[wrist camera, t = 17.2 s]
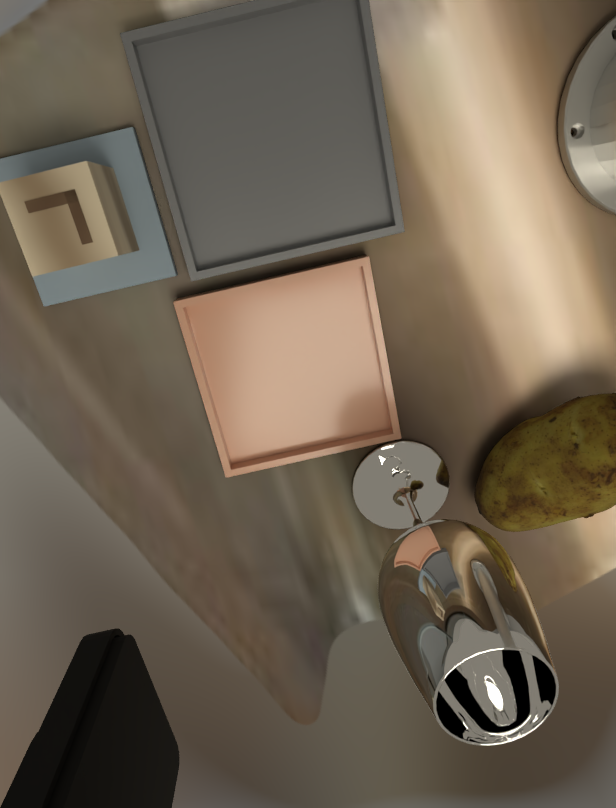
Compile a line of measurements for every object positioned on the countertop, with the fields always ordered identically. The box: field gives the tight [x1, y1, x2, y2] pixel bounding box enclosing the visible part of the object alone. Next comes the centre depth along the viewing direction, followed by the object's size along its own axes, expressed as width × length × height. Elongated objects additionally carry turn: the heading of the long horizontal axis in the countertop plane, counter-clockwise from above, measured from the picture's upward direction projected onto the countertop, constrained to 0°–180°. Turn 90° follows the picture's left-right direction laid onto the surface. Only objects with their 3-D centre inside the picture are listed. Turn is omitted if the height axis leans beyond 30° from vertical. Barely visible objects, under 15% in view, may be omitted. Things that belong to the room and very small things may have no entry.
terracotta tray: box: [173, 255, 401, 477], centre depth 39 cm, size 13×13×2 cm
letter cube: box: [0, 161, 139, 277], centre depth 32 cm, size 5×5×5 cm
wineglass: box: [352, 440, 559, 746], centre depth 33 cm, size 8×8×20 cm
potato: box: [475, 393, 616, 532], centre depth 38 cm, size 8×13×8 cm, turn 114°
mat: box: [0, 127, 178, 306], centre depth 35 cm, size 9×9×1 cm
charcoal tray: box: [120, 0, 405, 281], centre depth 34 cm, size 14×14×2 cm
